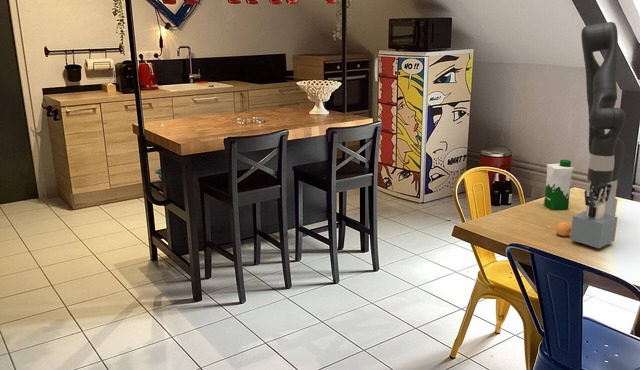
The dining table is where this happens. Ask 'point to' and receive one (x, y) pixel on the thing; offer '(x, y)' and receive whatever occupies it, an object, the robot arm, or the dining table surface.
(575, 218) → the tissue box
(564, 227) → the ball
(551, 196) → the milk carton
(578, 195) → the dining table surface
